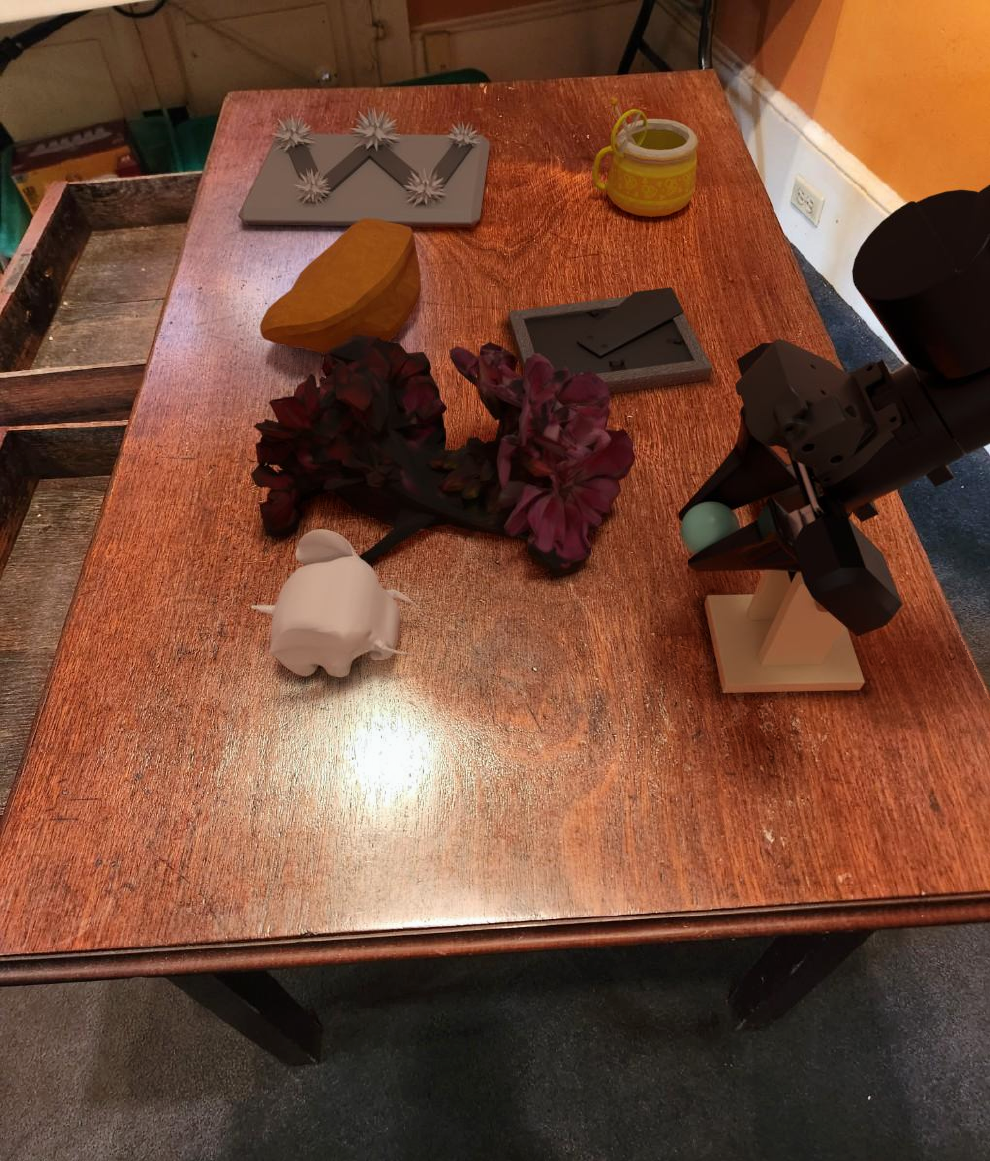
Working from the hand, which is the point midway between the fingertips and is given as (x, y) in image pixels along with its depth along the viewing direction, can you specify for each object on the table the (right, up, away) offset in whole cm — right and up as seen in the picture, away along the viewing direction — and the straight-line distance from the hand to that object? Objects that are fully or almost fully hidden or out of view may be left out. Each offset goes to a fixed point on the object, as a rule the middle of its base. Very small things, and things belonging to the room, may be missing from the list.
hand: (686, 542), depth 50 cm
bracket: (+10, -7, +10) cm, 16 cm away
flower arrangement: (-16, +5, +20) cm, 27 cm away
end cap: (+13, +5, +19) cm, 24 cm away
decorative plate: (-28, +49, +53) cm, 78 cm away
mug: (+6, +46, +50) cm, 68 cm away
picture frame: (-1, +21, +32) cm, 38 cm away
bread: (-28, +25, +36) cm, 52 cm away
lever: (+4, -1, +2) cm, 5 cm away
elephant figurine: (-24, -8, +11) cm, 27 cm away
